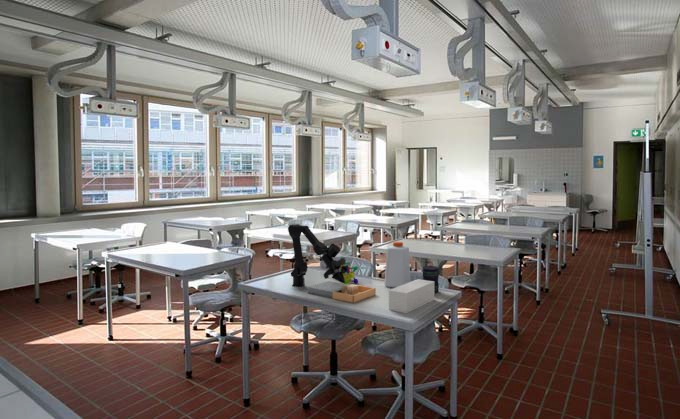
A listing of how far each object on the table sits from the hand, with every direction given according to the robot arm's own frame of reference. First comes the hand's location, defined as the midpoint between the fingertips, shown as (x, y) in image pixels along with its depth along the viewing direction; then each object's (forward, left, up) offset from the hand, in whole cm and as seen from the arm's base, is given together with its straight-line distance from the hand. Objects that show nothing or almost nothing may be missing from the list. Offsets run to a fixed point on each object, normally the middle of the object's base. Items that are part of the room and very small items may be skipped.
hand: (344, 282), depth 277 cm
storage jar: (+48, +23, -7) cm, 53 cm away
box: (+6, -2, -7) cm, 10 cm away
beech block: (0, 0, -4) cm, 4 cm away
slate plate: (-10, +4, -7) cm, 13 cm away
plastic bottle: (+26, +32, -7) cm, 42 cm away
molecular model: (-5, +27, -7) cm, 28 cm away
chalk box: (-15, +41, -7) cm, 44 cm away
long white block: (+42, -8, -8) cm, 43 cm away
